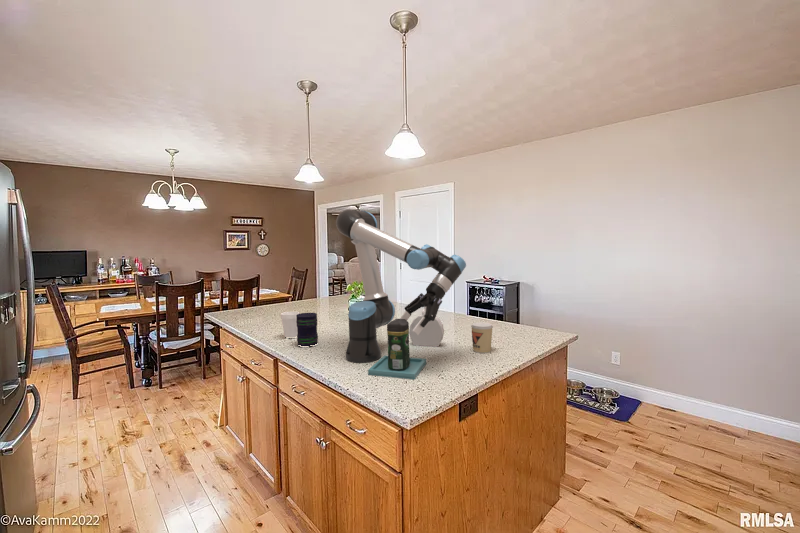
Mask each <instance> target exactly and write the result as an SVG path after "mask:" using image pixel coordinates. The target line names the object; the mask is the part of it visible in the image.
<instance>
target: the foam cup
mask: <svg viewBox="0 0 800 533" xmlns="http://www.w3.org/2000/svg"><path fill="white" fill-rule="evenodd" d="M297 314H301V313H300V312H299V311H296V310H295V311H284V312H281V313H280V320H281V324H282V330H283V336H284V338H285V337H295V336H297V334H298V331H297V323H296V320H297V317H296V315H297Z"/></svg>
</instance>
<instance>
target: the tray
mask: <svg viewBox="0 0 800 533" xmlns="http://www.w3.org/2000/svg"><path fill="white" fill-rule="evenodd" d="M426 365H427V358H424V357H423V358H420V357H410V364H409V366H408V367H407V368H406V369H405V370H392V369H389V368H388V355H383V356H381V358H380V359H378V360H377V362H375V363H374V364H373V365H372V366H371V367H370V368H368V369H367V375H368V376H375V375H376V377H377V376H378V377H385V378H386V377H388V378H396V379H407V380H415V379H417V377H418V376H419V374H420V373H421V371H422V370H423V369H424V367H426Z"/></svg>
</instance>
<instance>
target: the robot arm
mask: <svg viewBox="0 0 800 533" xmlns="http://www.w3.org/2000/svg"><path fill="white" fill-rule="evenodd" d="M335 226H336V229H337V230H338V233H340V234H342V235H343V236H345V237H347V238H349V239H350V242H351V243H352V244H353V245H354V246H355V252H356V255H357V260H358V265H359V270H360V275H361V280H362V285H363V289H364V290H363V291H364V298H363V299H362V301H357V302H356V301H355V302H353V303H352V304H350V305H349V306H348V314H347V316H348V332H349V334H348V336H349V338H348V339H349V340H348V344H347V348H346V350H345V360H346V361H349V362H350V363H351V362H352V363H360V364H361V363H371V362H374V361H379V360H380V359H381V358H382V351H381V348H380V344H379V342H378V339H377V329H378V328H380V327H384V326H387V324H388V323H390V322H391V321H393V320H394V318H395V314H396V307H395V305H394V303H393V302H392V301H391V300H390V299H389V296H388V294H387V293H386V292H384V288H383V287H384V286H383V283H382V282H383V281H382V276H381V273H380V268H379V263H378V259H377V258H378V257H377V252H376V249H377V250H380V251H381V252H384V253H385V254H388V255H389V256H391V257H393V258H395V259H397V260H400V261H401V262H404V263H406V264H407V265H408V266H409V268H411V269H412V270H418V271H419V270H423V269H424V270H425V269H427V268H432V269H434V270H435V271H436V272H438V273H437V274H436V275H435V276H434V278H433V279H432V280H431V282H430V283H429V284H428V286H426V289H425V292H426V293H424V294H423V293H422V292H420V294H418V296H417V297H416V298H414V299H413V300H412V301H411V302H409V303H408V304H407V305H406V306H405V307H404V310H405V311H404V313H403V314H402V316H400V317H399V319H406V320H407V321H408V320H409V319H410V317H412V314H413V313H414V312H417V310H419V309H421V308H424V307H426V313H425V315H424V317H425V318H424V317H422V319H421V320H420V321H419V323H418V324H417V325H416V327H415V328H414V329H413V331H414V332H415V333H416V334H417V335H419V333H420V332H421V331H422V329H423V328H424V327H425V326H426V324H427V323H428V322H429V321H431V320H432V321H434V320H435V317H436V316H437V315H438V311H439V309H440V306H441V304H442V303H443V300H442V299H443V298H444V297H445V295H446V293H447V292H448V291H449V290H451V289H450V288H451V287H452V286H453V285H454V284H455V282H456V281H457V280H458V278H459V277H460V276H461V275H462V273H463V272H464V271H465V268H466V267H467V263H466V260H465V259H463V257H461V256H459V255H457V254H452V255H451V256H447V255H446V254H444V253H442V252H441V251H439V250H438V249H436V248H435V247H434V246H432V245H429V244H427V243H426V244H424V245H423V246H421V247H418V246H416V245H413V244H412V243H409V242H408V241H406V240H403V239H401V238H399V237H397V236H394V235H392V234H390V233H388V232H385V231H384V230H382V229H380V228H378V220H377V219H376V217H375V216H374V214H372V213H370V212H369V211H366V210H356V209H355V210H354V209H344V210H343V211H341V212H340V213H338V215H337V216H336V220H335Z"/></svg>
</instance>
